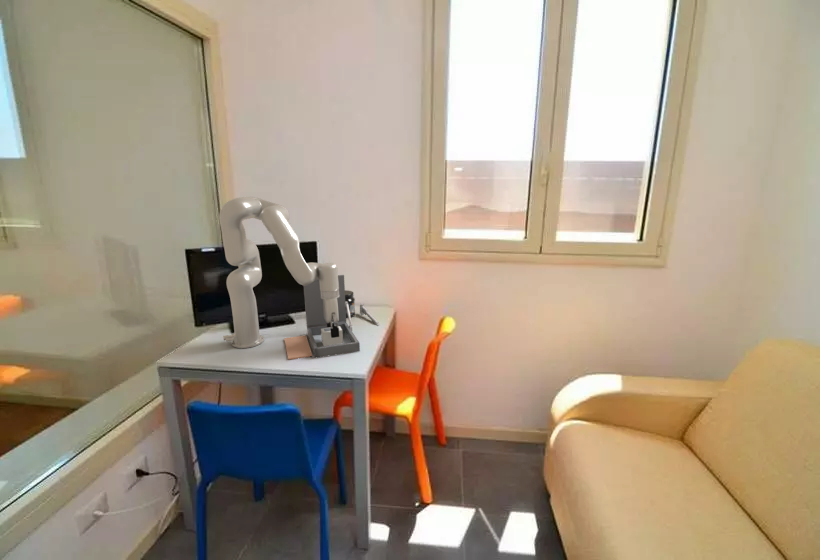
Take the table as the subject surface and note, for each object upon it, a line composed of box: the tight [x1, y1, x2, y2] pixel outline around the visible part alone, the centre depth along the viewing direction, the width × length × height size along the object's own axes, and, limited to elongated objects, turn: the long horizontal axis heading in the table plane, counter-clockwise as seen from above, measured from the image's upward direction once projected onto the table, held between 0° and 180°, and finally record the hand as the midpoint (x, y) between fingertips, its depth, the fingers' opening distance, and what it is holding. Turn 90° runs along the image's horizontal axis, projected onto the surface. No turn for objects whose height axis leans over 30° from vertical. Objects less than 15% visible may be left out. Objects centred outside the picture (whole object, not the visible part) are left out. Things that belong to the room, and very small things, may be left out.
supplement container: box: [345, 289, 356, 319], centre depth 200 cm, size 10×10×12 cm
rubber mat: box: [283, 334, 313, 361], centre depth 162 cm, size 9×22×1 cm, turn 20°
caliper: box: [359, 302, 380, 326], centre depth 195 cm, size 20×1×6 cm, turn 31°
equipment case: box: [303, 274, 361, 359], centre depth 165 cm, size 19×26×26 cm
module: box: [320, 326, 344, 347], centre depth 167 cm, size 8×5×6 cm, turn 110°
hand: (333, 333), depth 166 cm, fingers open, 9 cm apart
